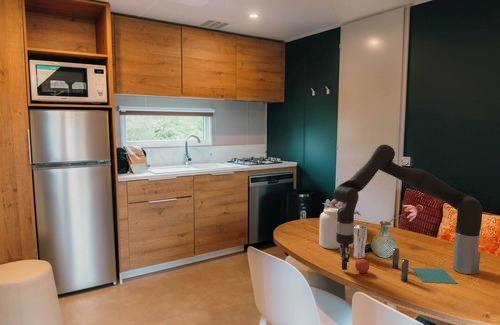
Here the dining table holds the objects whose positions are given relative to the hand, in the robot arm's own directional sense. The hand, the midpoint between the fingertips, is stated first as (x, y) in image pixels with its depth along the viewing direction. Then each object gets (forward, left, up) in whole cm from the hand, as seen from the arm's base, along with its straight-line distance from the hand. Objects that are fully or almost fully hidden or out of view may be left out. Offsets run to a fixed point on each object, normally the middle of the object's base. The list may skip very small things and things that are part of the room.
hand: (344, 269), depth 158 cm
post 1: (-24, -7, -1) cm, 25 cm away
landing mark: (-38, 0, -1) cm, 38 cm away
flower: (-7, -60, -2) cm, 61 cm away
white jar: (+2, -33, -1) cm, 33 cm away
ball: (-8, 0, +2) cm, 8 cm away
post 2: (-24, +6, -1) cm, 25 cm away
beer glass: (-10, -19, -1) cm, 22 cm away
